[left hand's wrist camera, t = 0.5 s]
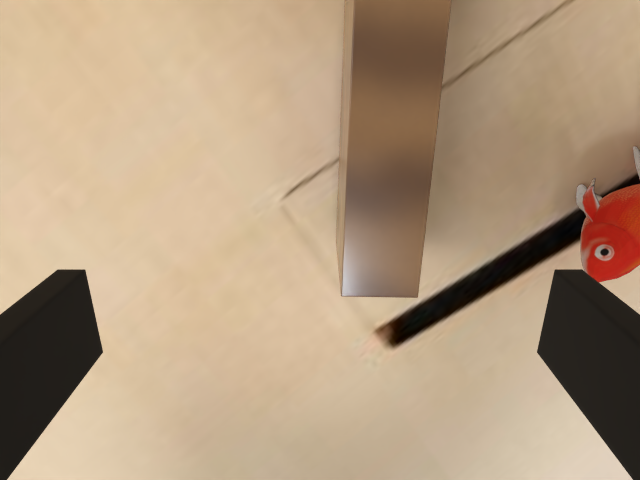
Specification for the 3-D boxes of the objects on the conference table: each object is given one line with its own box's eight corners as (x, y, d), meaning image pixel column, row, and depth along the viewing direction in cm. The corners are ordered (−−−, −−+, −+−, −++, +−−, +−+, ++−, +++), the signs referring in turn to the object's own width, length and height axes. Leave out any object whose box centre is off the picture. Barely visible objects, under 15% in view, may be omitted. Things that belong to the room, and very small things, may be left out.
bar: (394, 244, 34) (417, 297, 26) (336, 242, 34) (341, 296, 26) (429, -148, 25) (479, -246, 17) (350, -150, 25) (364, -250, 17)
